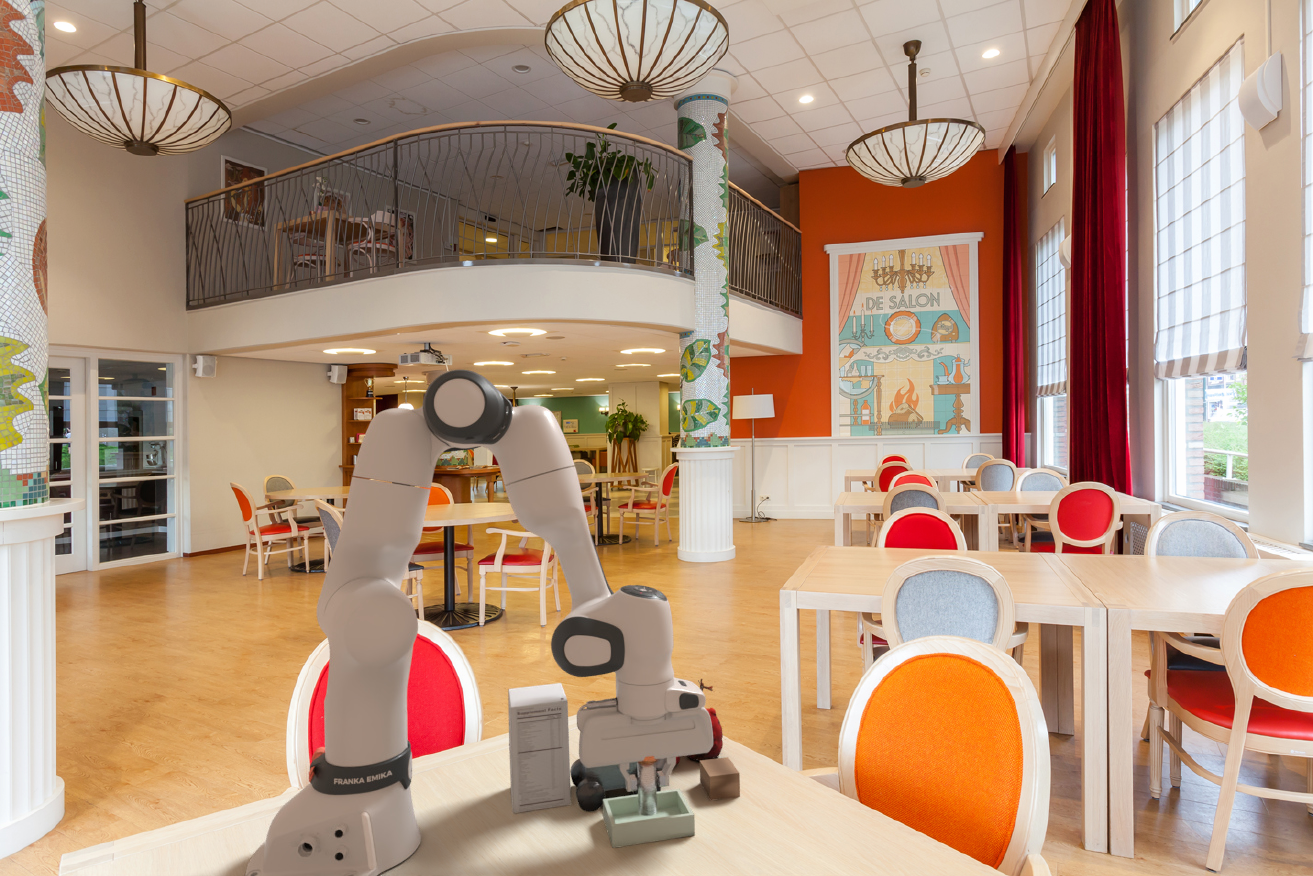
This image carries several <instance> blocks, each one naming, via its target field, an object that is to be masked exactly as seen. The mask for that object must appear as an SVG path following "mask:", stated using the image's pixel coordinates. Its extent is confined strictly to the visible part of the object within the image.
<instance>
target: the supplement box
mask: <svg viewBox="0 0 1313 876" xmlns="http://www.w3.org/2000/svg"><path fill="white" fill-rule="evenodd" d="M507 693H508V694H507V695H508V696H507V698H508V699H507V700H508V703H507V706H508V708H507V709H508V746H509V748H508V749H509V771H510V772H509V773H510V778H509V780H510V798H511V807H512V813H513V814H518V813H523V812H530V811H532V812H533V811H538V810H543V809H550V808H557V807H564V806H570V805H572V795H571V774H570V770H571V765H570V764H571V761H570V760H571V759H570V736H569V735H570V733H569V730H570V729H569V706H568V705H569V704H568V699H567V695H566V692H565V690H564V687H563V685H562V682H557V683H550V684H541V685H539V684H538V685H532V686H523V687H521V686H520V687H514V688H508V691H507Z"/></svg>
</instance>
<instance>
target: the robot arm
mask: <svg viewBox="0 0 1313 876" xmlns="http://www.w3.org/2000/svg"><path fill="white" fill-rule="evenodd" d="M423 396H424V397H423V401H422V405H421V406H419V408H418V407H417V408H415V409H414V408H413V409H409V408H403V407H402V408H401V407H400V408H399V407H395V408H394V407H393V408H388V409H385V410H382V411H380V412H378V413H377V414H376V415H375V416H373V418H372V419H371V421H370V422H369V425H368V428H367V429H366V432H365V434H364V437H363V439H362V442H361V445H360V447H359V451H358V454H357V458H356V460H355V464H354V468H353V471H352V472H353V473H352V476H351V482H350V485H349V486H350V487H349V490H348V495H347V499H346V500H347V501H346V504H345V509H344V513H343V519H342V524H341V526H340V531H339V535H338V538H337V540H336V544H335V545H334V546H335V547H334V550H333V552H332V554H331V555H332V556H331V558H330V561H329V564H328V567H327V571H326V574H325V576H324V580H323V582H322V586H321V591H320V594H319V596H318V600H317V605H316V618H317V624H318V625H319V628H320V629H321V631H322V632H323V633H324V635H325V636H326V638H327V641H328V646H329V663H328V673H327V674H328V675H327V684H326V685H327V687H326V694H325V697H324V700H323V704H324V705H323V707H324V708H323V710H324V713H323V714H324V716H323V717H324V722H323V723H324V746H320V747H317V748H316V750H315V751H314V753H313V755H312V756H311V763H310V765H309V771H308V782H309V784H307V785H306V786H304V788H302V789H301V790H300V791H299V792H298V793H296V795H294V796H293V797H292V798H291V799H289V800H288V801H287V802H286V803H284V805H282V807H281V808H280V809H279V810H278V812H276V814H275V815H274V817H273V819H272V820H271V823H270V825H269V828H268V831H267V834H266V837H265V838H266V839H265V841H264V842H263V843H262V844H261V845H260V846H259V847H258V848H257V849H256V850H255V851H254V853H253V855H252V856H251V858H250V860H249V861H248V864H247V867H246V868H245V869H246V870H245V876H379V875H380V874H382V873H383V872H385V871H387V870H390V869H391V868H393V867H395V866H397V865H399V864H400V863H403V861H405V860H407V859H409V857H410V856H411V855H413V854H414V853H415V852H416V850H417V849H418V847H420V844H421V842H422V833H421V831H420V829H419V828H420V827H419V826H418V823H417V818H416V815H415V810H414V805H413V799H412V791H411V790H412V789H411V783H412V779H413V752H412V749H411V747H412V746H411V745H412V744H411V742H410V741H409V740H408V686H409V685H408V684H409V679H410V673H411V665H412V657H413V652H414V644H415V641H416V639H417V636H418V631H419V621H418V616H417V612H416V610H415V606H414V604H413V603H412V601H411V599H410V598H409V596H408V595H407V593H405V592H404V591H402V590H401V588H402V584H403V580H404V578H405V574H406V571H407V569H408V567H409V564H410V563H411V558H413V557H412V556H413V555H414V552H415V551H416V548H417V547H418V546H419V544H420V541H421V539H422V534H423V529H424V523H425V520H426V519H425V518H426V514H427V513H426V512H427V511H428V510H427V508H428V503H429V500H430V498H429V497H430V496H431V495H430V493H431V489H432V483H433V478H434V474H435V469H436V465H437V462H438V460H439V458H440V456H441V455H442V454H443V453H444V454H445V453H451V452H457V451H458V452H459V451H460V452H461V451H471V450H474V449H478V448H481V447H483V448H485V449H487V450H488V451H489V452H491V453H492V455H493V456H494V457H495V460H496V462H497V465H498V467H499V470H500V473H501V476H502V481H503V484H504V488H505V492H506V496H507V498H508V501H509V504H510V507H511V509H512V511H513V513H514V514H515V518H516V519H517V521H518V523H519V524H520V526H521V527H522V528H524V529H525V530H526V531H528V532H529V533H531V534H533V535H536V536H538V537H539V538H541V539H543V540H544V541H545V542H546V543H548V545H549V546H550V547H551V548H552V549H553V551H554V552H555V554H556V557H557V558H558V561H559V563H560V567H561V571H562V572H563V576H564V578H565V583H566V585H567V588H568V591H569V593H570V598H571V608H570V612H569V613H568V614H567V615H566V616H565V617H564V618H563V619H562V620H561V621H560V622H559V624H557V626H556V627H555V629H554V631H553V634H552V636H551V641H550V646H551V647H550V648H551V653H552V654H551V655H552V656H553V659H554V661H555V662H556V664H557V666H558V667H559V668H560V669H561V670H563V672H564V673H566V674H567V675H570V676H573V677H577V678H588V677H596V676H603V675H608V674H612V673H614V674H615V696H616V697H613V698H612V697H611V698H605V699H600V700H588V701H586V703H585V704H582V705H581V707H579V708H578V710H577V711H576V712H577V713H576V727H577V728H578V730H579V739H578V757H579V759H580V761H581V763H582V764H583V765H584V766H585V767H586V768H593V767H601V766H609V765H616V764H618V767H619V769H620V771H621V773H622V774H623V776H624V777H625V785H626V788H625V789H626V792H627V793H628V792H633V791H636V790H637V779H636V776H635V774H634V775H629V773H628V772H627V770H628V769H629V763H632V762H639V761H643V760H644V758H645V757H649V756H654V758H655V759H662V758H664V759H665V761H666V763H665V765H664V767H663V769H662V770H656V777H657V783H658V785H659V787H661V788H664V787H670V775H671V774H672V772H673V771H674V768H675V766H676V765H677V764H676V757H678V756H680V757H683V756H684V757H685V756H686V757H687V755H693V754H701V753H708V752H709V751H710V750H711V748H712V746H713V731H712V724H711V718H710V715H709V713H708V711H707V710H706V709H705V708H706V707H705V706H706V703H707V701H706V700H707V699H706V696H705V695H706V694H705V693H704V692H702V690H701V689H700V686H698V685H697V684H696V683H694V682H693V681H691V680H688V679H683V678H678V677H675V671H674V667H673V663H672V655H673V650H674V625H673V616H672V609H671V605H670V602H669V600H668V597H667V596H666V595H665V594H664V593H663V592H662V591H660V590H658V589H656V588H654V587H650V586H646V585H641V584H633V585H631V584H629V585H623V586H621V587H619V588H618V590H616V591H615V592H614V591H613V589H612V588H611V586H610V585H609V582H608V580H607V577H606V574H605V572H604V569H603V566H602V563H601V560H600V557H599V553H598V551H597V548H596V545H595V543H594V542H595V541H594V539H593V536H592V533H591V530H590V527H589V522H588V519H587V518H588V517H587V513H586V510H585V509H586V508H585V504H584V498H583V493H582V488H581V484H580V479H579V475H578V471H577V468H576V466H575V462H574V460H573V455H572V453H571V449H570V447H569V443H567V440H566V437H565V435H564V432H563V430H562V428H561V426H560V424H559V422H558V420H557V418H556V416H555V415H554V413H553V412H552V411H551V410H550V409H549V408H547V407H545V406H542V405H538V404H523V405H519V406H513V404H512V402H511V400H509V398H507V397H506V396H505V395H504V394H503V393H502V392H501V391H500V390H499V389H498V388H497V387H496V386H495V384H493V382H491V381H490V380H488V378H486V377H485V376H483V375H482V374H480V373H478V372H476V371H473V370H468V369H453V370H449V371H446V372H444V373H442V374H440V375H438V376H437V377H436V378H435V379H434V380H432V381H431V383H430V384H429V385H428V387H427V389H426V391H425V393H424V395H423ZM675 764H676V765H675Z"/></svg>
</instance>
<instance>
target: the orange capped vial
mask: <svg viewBox="0 0 1313 876" xmlns="http://www.w3.org/2000/svg"><path fill="white" fill-rule="evenodd" d="M658 760H659V759H655V758H654V756H649V757H645V758H644V760H643V761H639V762H637V770H638V812H639V814H641V815H643V816H651V815H654V814H656V812H657V788H656V777H657V770H656V762H657V761H658Z"/></svg>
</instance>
